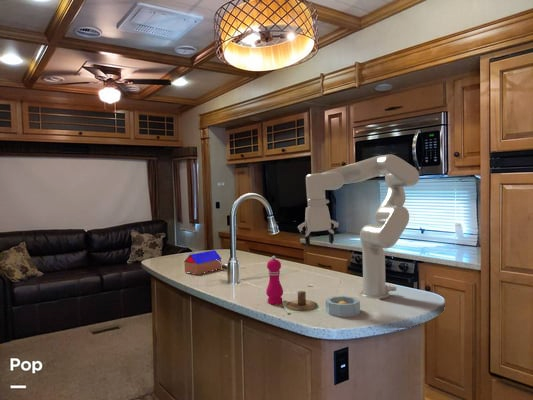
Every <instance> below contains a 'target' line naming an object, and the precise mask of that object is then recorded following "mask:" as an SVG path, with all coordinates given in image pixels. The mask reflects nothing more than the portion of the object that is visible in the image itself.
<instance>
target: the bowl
mask: <svg viewBox="0 0 533 400" xmlns="http://www.w3.org/2000/svg"><path fill="white" fill-rule="evenodd" d="M341 301H344V302H346V303H347V304H338V303H339V302H341ZM325 312H326V313H327V314H328V315H329V316H333V317H338V318H349V317H350V318H351V317H356V316H358V315H359V314H361V301H360V300H359V299H358V298H357V297H353V296H349V295H348V296H347V295H337V296H336V295H335V296H333V295H332V296H330V297H327V298H326V299H325Z"/></svg>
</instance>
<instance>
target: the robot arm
mask: <svg viewBox="0 0 533 400" xmlns="http://www.w3.org/2000/svg"><path fill="white" fill-rule="evenodd" d="M382 175H383V176H384V175H385V176H384V180H385V184H386V189H387V191H386V192H387V193H386V196H385V197H384V199H383V200H382V202H381V204H380V205H379V207H378V209H377V210H376V212H375V214H374V220H375V222H376V223H377V224H375V223H369V224H366V225H364V226H363V227H362V228H361V229H360V232H359V238H360V244H361V249H362V251H361V252H362V282H363V283H362V285H363V289H362V290H361V291H360V292H359V295H360V297H363V298H368V299H379V300H383V299H387V298H389V297H390V292H396V291H397V286H391V285H386V256H385V255H386V254H385V251H384V249H391V248H392V247H393V246H395V245H396V244H397V242H398V241H399V239H400V237H401V236H402V234H403V232H404V231H405V229H406V228H407V226H408V224H409V221H410V213H409V211H408V209H407V208H406V207H405V206H404V205H405V202H406V199H407V198H406V193H405V189H404V188H405V187H413V186H415V185H417V184H418V183H419V180H420V173H419V171H418V170H417V168H416V167H414V166H413V165H411V164H410V163H408V162H407V161H406V160H404V159H403V158H401V157H399V156H397V155H394V154H389V153H388V154H383V155H377V156H373V157H369V158H366V159H364V160H360V161H357V162H354V163H350V164H347V165H344V166H341V167H340V166H339V167H336V168H334V169H330V170H326V171H323V172H320V173H319V172H318V173H308V174H307V175H306V176H305V187H306V188H305V189H306V201H307V207H305V213H304V215H305V217H304V222H302V223H300V224H299V225H298V226H297V229H298V230H299V232H300V234H302V235H303V236H304V242H305V244H306V245H307V247H310V246H311V238H310V236H309V235H310V234H311V232H312V233H313V232H322V231H328V243H329V244H331V245H333V243H334V240H335V238H334V234H335V232H336V231H337V230H338V227H339V225H340V223H339V222H338V221H335V220H333V219H331V215H330V211H329V206H328V205H327V204H329V203H330V199H327V198H326V191H335V190H338V189H341V188H342V187H343V186H344V185H346V184H354V183H360V182H361V183H362V182H363V181H367V180H369V179H373V178H376V177H379V176H382ZM332 224H333V227H332ZM304 227H305V231H304V229H303V228H304Z"/></svg>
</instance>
